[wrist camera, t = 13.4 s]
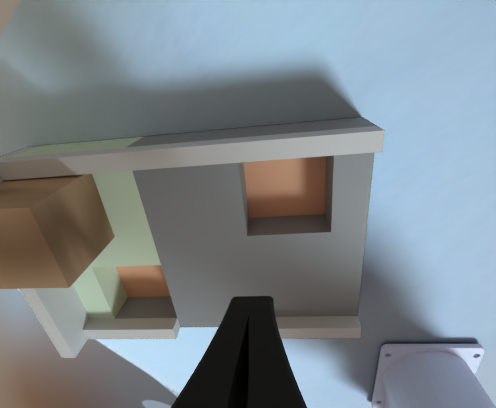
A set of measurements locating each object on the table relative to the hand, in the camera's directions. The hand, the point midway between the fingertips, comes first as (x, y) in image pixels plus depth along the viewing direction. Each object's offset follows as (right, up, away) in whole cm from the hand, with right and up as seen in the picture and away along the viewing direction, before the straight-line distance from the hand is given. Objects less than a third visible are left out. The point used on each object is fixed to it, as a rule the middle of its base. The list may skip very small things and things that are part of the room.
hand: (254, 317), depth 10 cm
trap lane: (-3, +2, +10) cm, 11 cm away
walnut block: (-11, +4, +7) cm, 14 cm away
